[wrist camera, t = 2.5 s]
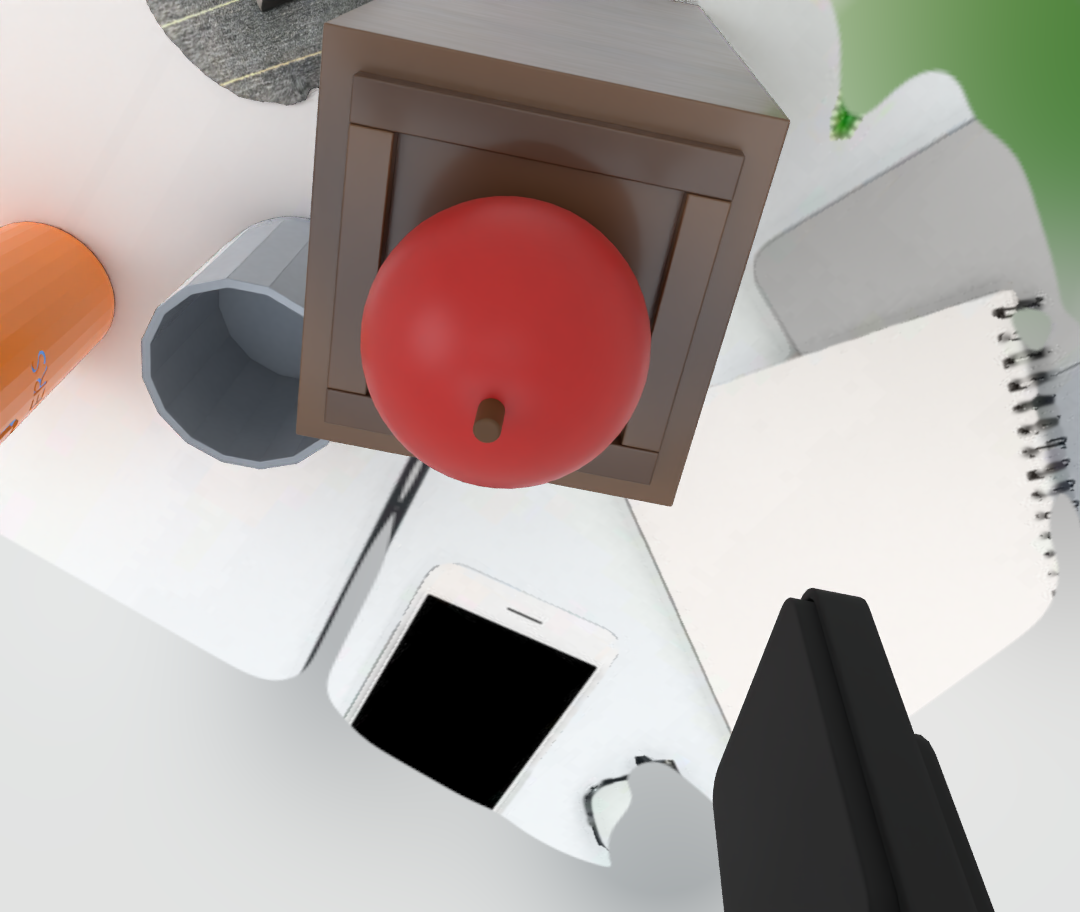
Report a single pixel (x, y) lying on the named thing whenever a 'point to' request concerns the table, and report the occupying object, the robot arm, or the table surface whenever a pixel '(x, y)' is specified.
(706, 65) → the crate
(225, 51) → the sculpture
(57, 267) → the shaker bottle
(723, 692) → the table surface
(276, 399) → the steel cup
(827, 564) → the table surface
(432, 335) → the apple
